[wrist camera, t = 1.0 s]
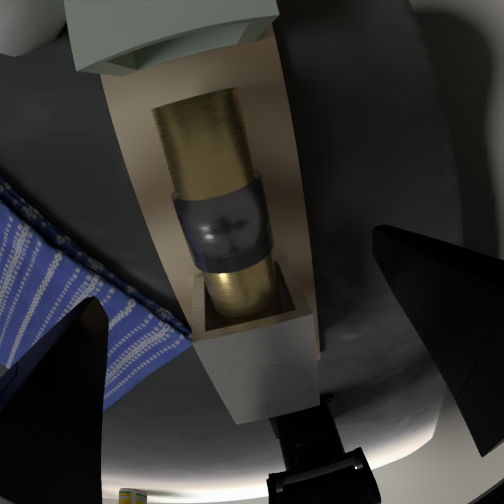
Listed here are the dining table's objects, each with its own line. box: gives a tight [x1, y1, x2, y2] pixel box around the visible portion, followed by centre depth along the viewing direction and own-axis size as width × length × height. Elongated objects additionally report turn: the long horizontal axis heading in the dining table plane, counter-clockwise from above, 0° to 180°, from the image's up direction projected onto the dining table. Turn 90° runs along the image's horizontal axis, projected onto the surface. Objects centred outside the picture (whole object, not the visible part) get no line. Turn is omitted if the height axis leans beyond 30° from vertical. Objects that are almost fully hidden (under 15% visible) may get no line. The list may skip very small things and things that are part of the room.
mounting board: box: [100, 23, 320, 360], centre depth 15 cm, size 28×8×1 cm, turn 12°
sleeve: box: [192, 254, 320, 424], centre depth 16 cm, size 8×5×5 cm, turn 12°
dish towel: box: [0, 177, 193, 412], centre depth 16 cm, size 17×24×3 cm
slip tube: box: [151, 87, 283, 328], centre depth 14 cm, size 16×4×4 cm, turn 11°
